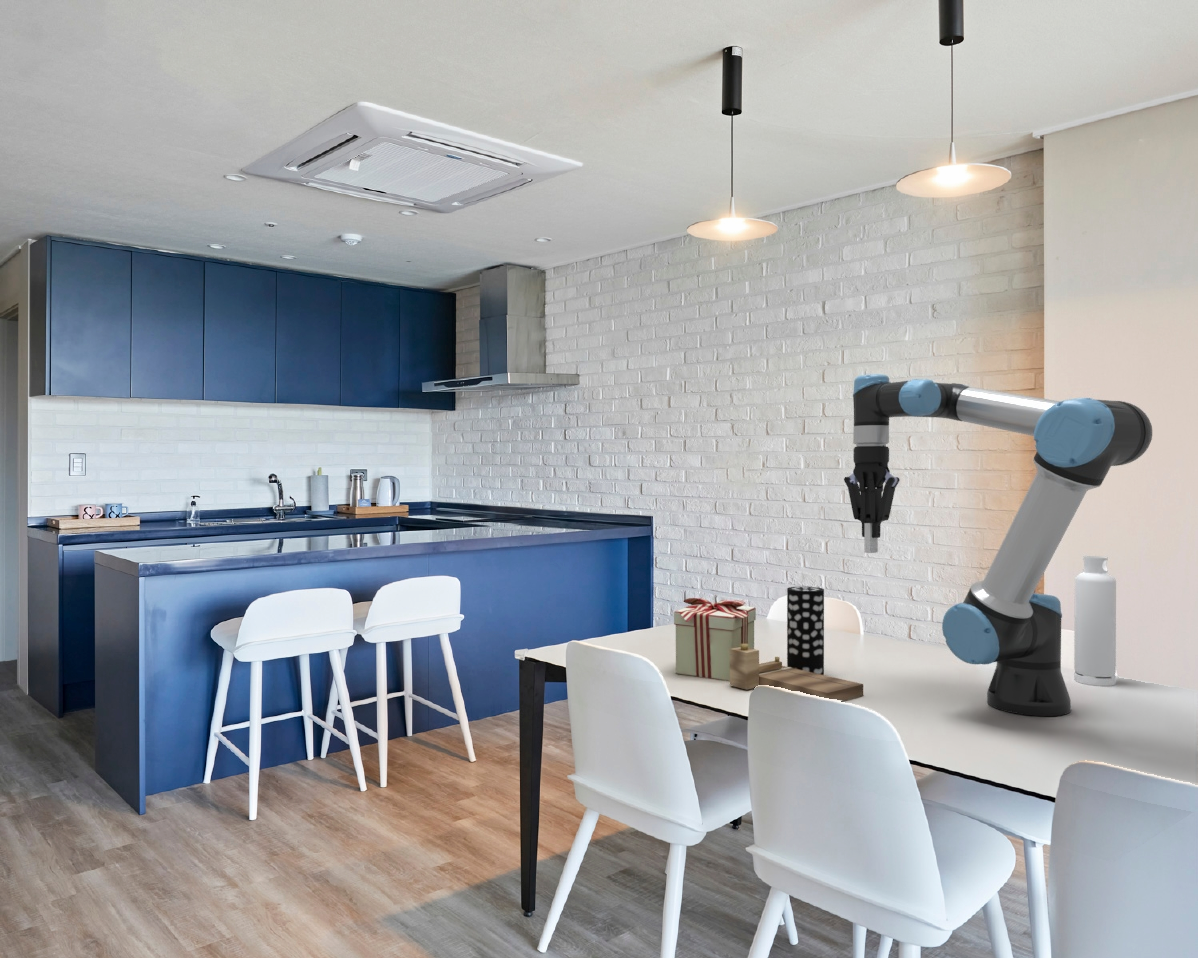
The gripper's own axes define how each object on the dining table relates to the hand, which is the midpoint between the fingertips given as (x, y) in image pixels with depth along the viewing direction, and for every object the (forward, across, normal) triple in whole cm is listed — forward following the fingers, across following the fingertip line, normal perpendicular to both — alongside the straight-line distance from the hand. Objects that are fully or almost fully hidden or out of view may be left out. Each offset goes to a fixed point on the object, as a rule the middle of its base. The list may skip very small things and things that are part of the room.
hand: (871, 552), depth 196 cm
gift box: (+30, +30, +18) cm, 46 cm away
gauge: (+29, +16, +19) cm, 38 cm away
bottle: (+30, -29, -42) cm, 59 cm away
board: (+29, +8, +15) cm, 34 cm away
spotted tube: (+30, +15, +3) cm, 34 cm away
